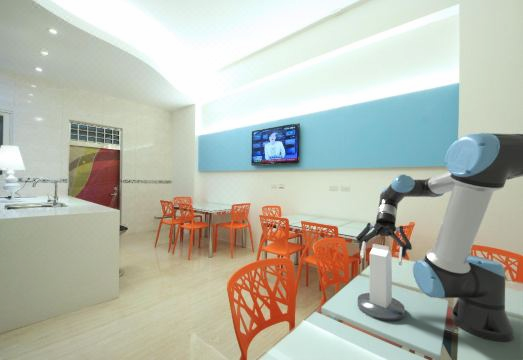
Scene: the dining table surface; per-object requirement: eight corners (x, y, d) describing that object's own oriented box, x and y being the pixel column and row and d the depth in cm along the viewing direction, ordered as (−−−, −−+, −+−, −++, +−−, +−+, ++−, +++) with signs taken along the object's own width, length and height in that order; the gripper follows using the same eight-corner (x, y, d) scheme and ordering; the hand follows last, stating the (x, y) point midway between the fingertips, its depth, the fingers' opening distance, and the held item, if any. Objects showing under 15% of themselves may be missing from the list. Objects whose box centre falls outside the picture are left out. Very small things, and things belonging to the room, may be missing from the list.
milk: (386, 308, 86) (386, 248, 86) (369, 302, 90) (369, 245, 90) (391, 302, 90) (391, 245, 90) (375, 297, 95) (375, 242, 95)
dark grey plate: (414, 315, 86) (414, 308, 86) (383, 325, 80) (383, 318, 80) (377, 296, 101) (377, 290, 101) (348, 303, 94) (348, 297, 94)
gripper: (420, 225, 99) (418, 272, 87) (358, 219, 114) (349, 258, 102) (419, 214, 95) (417, 261, 83) (355, 209, 110) (345, 249, 98)
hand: (379, 260), depth 92 cm, fingers open, 13 cm apart
